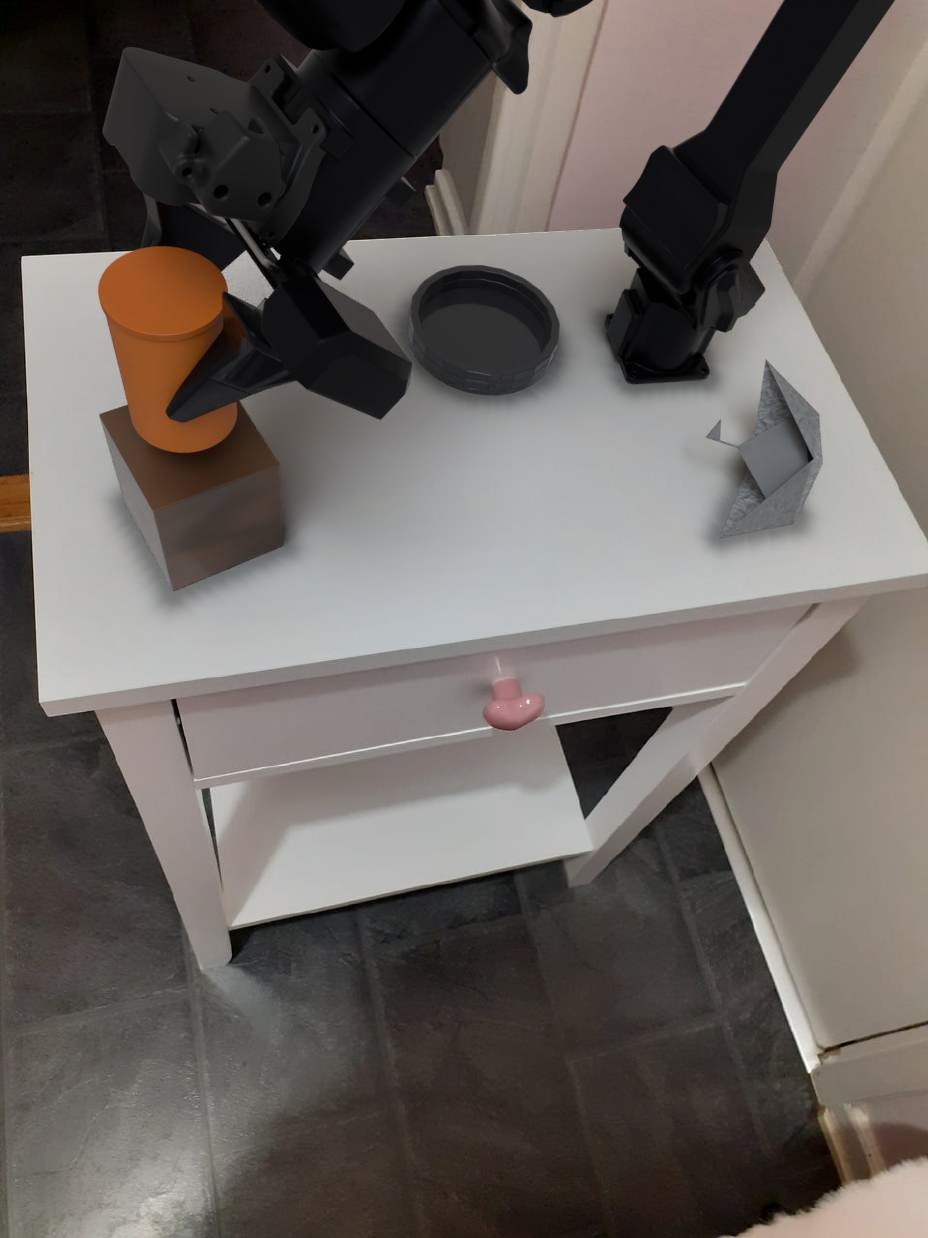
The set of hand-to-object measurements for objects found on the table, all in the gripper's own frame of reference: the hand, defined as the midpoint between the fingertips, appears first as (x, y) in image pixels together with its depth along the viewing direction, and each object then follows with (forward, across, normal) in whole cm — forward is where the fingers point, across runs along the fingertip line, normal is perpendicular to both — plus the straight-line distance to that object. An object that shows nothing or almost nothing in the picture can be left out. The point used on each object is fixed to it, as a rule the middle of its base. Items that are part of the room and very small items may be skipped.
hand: (149, 376), depth 44 cm
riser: (+8, 0, +10) cm, 13 cm away
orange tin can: (+1, 0, +3) cm, 3 cm away
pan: (-9, -6, +27) cm, 29 cm away
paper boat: (-16, +12, +35) cm, 40 cm away
